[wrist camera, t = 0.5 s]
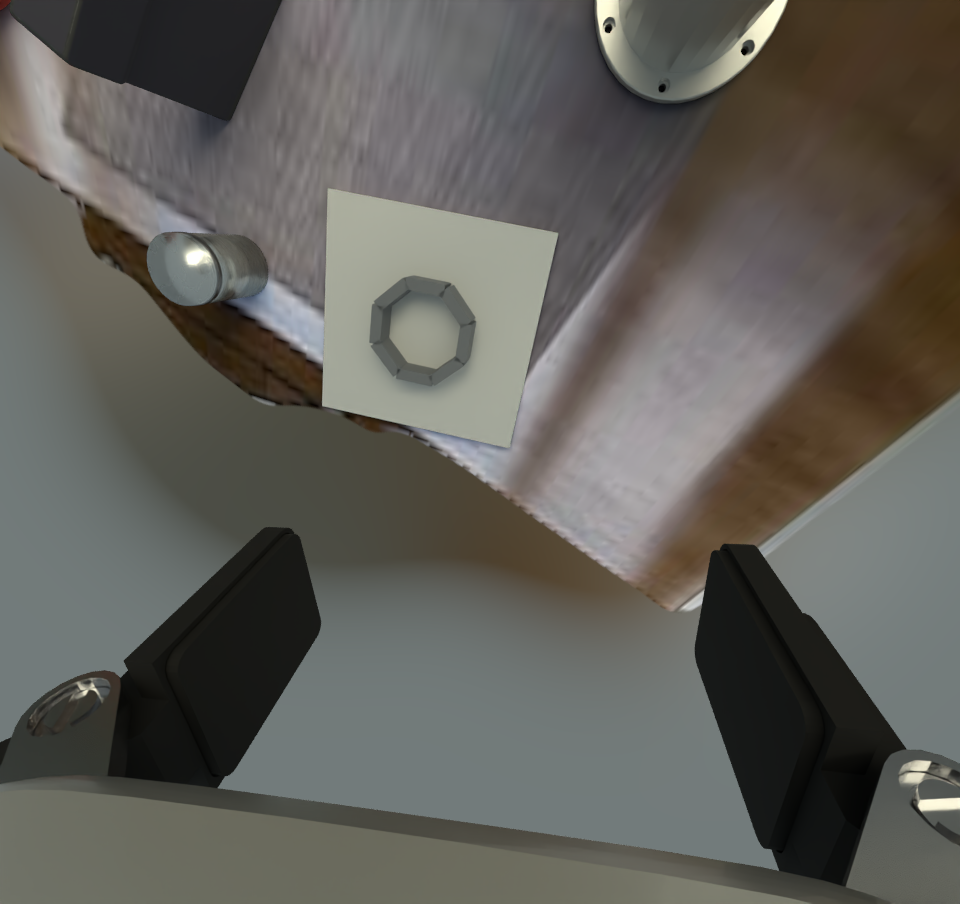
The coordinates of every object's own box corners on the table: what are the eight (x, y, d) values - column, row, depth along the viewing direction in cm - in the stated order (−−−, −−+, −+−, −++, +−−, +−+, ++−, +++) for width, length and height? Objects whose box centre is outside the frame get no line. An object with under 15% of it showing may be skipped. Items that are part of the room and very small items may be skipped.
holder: (333, 189, 39) (313, 184, 36) (558, 233, 38) (558, 232, 35) (326, 402, 48) (310, 413, 45) (510, 444, 47) (507, 458, 44)
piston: (211, 229, 42) (141, 225, 35) (267, 240, 42) (208, 238, 35) (216, 290, 45) (151, 299, 38) (269, 302, 45) (214, 312, 37)
